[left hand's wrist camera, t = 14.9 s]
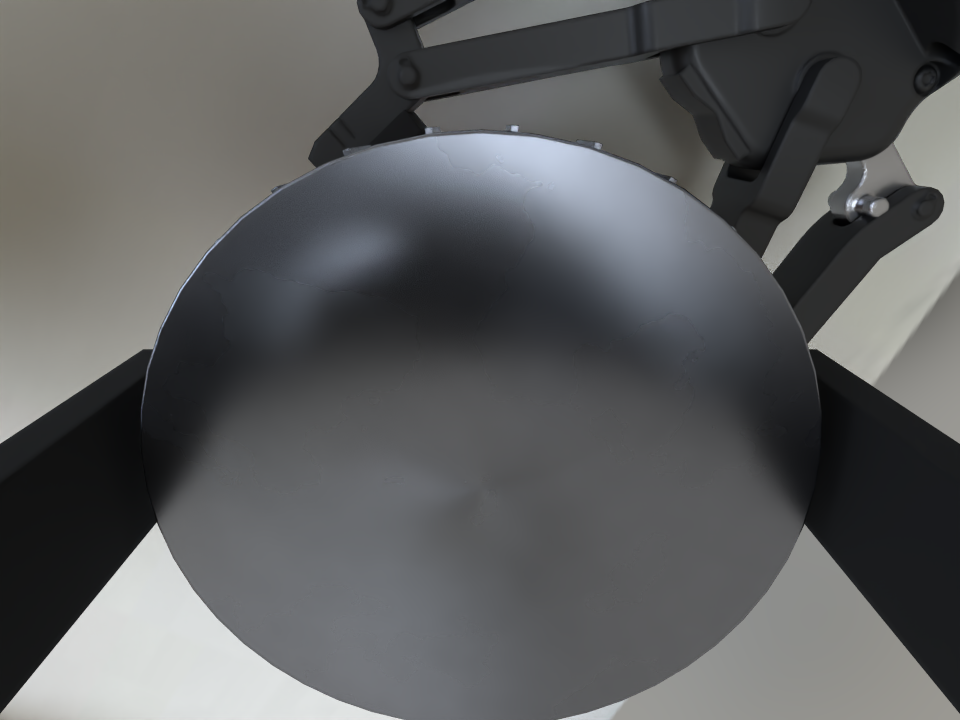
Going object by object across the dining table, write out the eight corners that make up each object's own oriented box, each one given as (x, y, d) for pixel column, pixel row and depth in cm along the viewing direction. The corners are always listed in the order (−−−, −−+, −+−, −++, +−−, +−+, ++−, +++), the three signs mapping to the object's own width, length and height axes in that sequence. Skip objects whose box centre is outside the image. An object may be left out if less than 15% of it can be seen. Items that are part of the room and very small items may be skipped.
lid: (88, 420, 12) (-1, 487, 10) (482, -37, 9) (483, -89, 7) (479, 705, 15) (479, 808, 13) (871, 422, 12) (960, 489, 10)
